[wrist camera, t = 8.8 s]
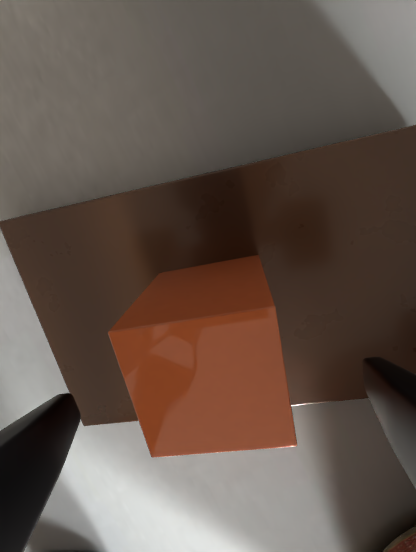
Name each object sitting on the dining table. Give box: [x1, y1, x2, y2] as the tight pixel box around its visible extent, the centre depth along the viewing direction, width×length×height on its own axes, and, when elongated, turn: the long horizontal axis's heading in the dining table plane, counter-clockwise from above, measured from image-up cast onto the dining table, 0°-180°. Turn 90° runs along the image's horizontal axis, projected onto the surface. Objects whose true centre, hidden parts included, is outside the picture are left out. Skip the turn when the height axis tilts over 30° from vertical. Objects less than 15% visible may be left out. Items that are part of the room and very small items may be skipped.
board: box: [0, 125, 416, 426], centre depth 15 cm, size 20×13×2 cm, turn 102°
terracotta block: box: [108, 255, 297, 457], centre depth 12 cm, size 5×5×6 cm
